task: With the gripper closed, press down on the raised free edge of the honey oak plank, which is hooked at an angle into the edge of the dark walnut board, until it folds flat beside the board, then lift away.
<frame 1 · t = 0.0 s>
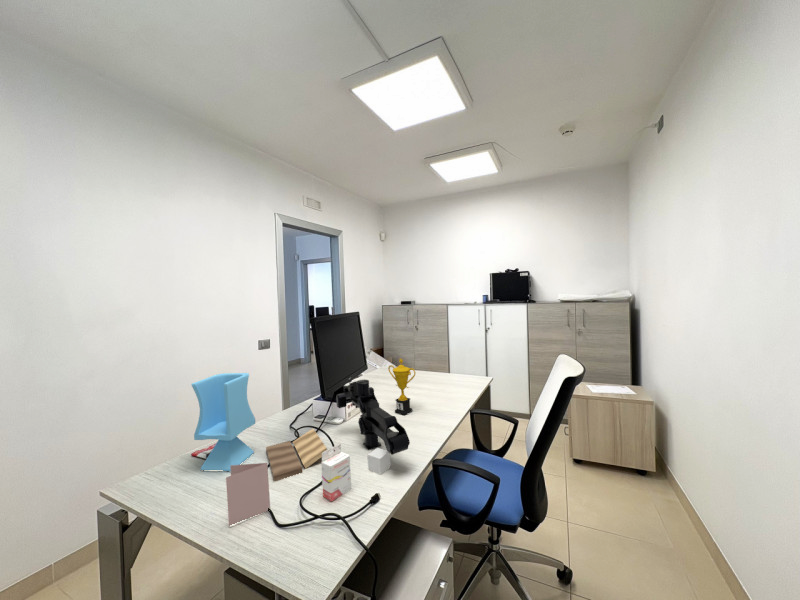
hand: (349, 393, 156), 17 cm above the table, tool horizontal, fingers open, 9 cm apart
greeting card: (247, 518, 93), on the table
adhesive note: (379, 469, 116), on the table
oak plank: (309, 446, 130), point 3 cm above the table, hinge at 22.0°
blue pedestal chair: (228, 462, 127), on the table
trophy: (403, 412, 170), on the table
ink cartridge box: (337, 493, 103), on the table
walnut board: (283, 461, 125), on the table
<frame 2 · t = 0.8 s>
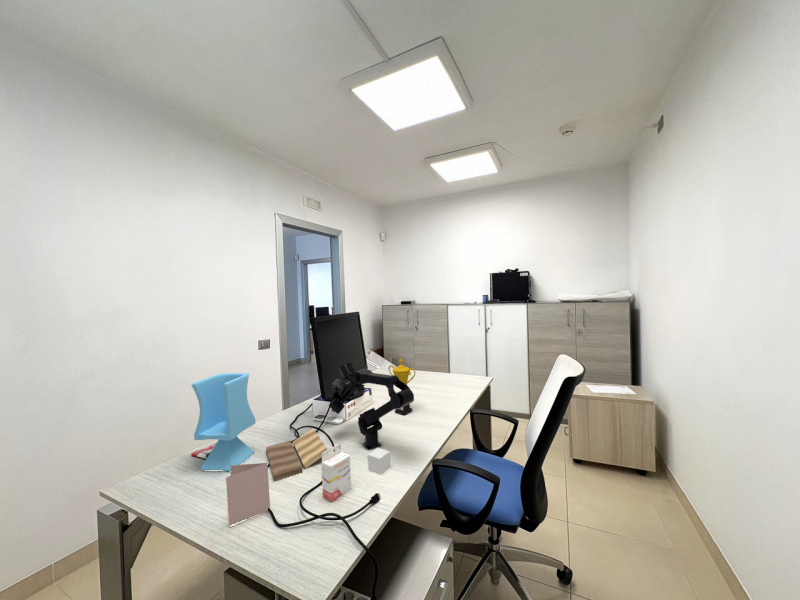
hand: (337, 404, 150), 13 cm above the table, tool tilted 50°, fingers open, 9 cm apart
nothing on the table moved.
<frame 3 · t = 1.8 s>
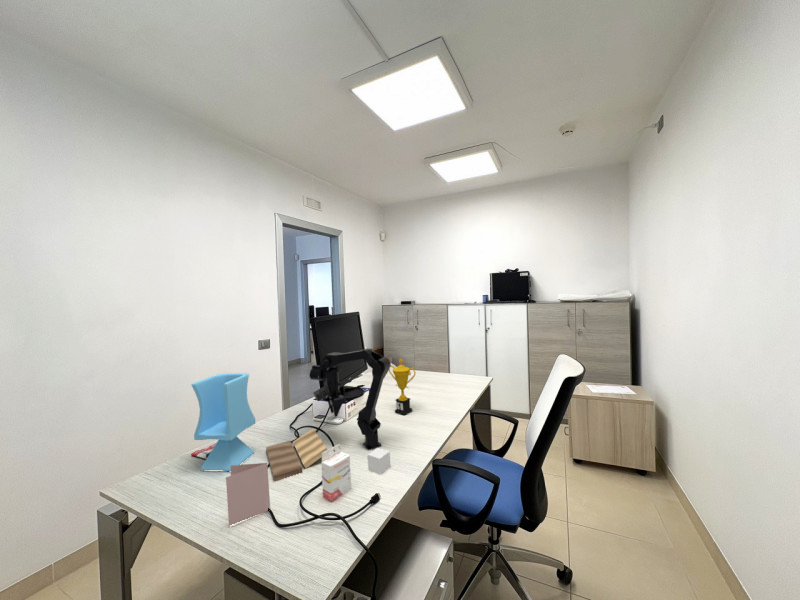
hand: (334, 414, 141), 12 cm above the table, tool pointing down, fingers open, 5 cm apart
nothing on the table moved.
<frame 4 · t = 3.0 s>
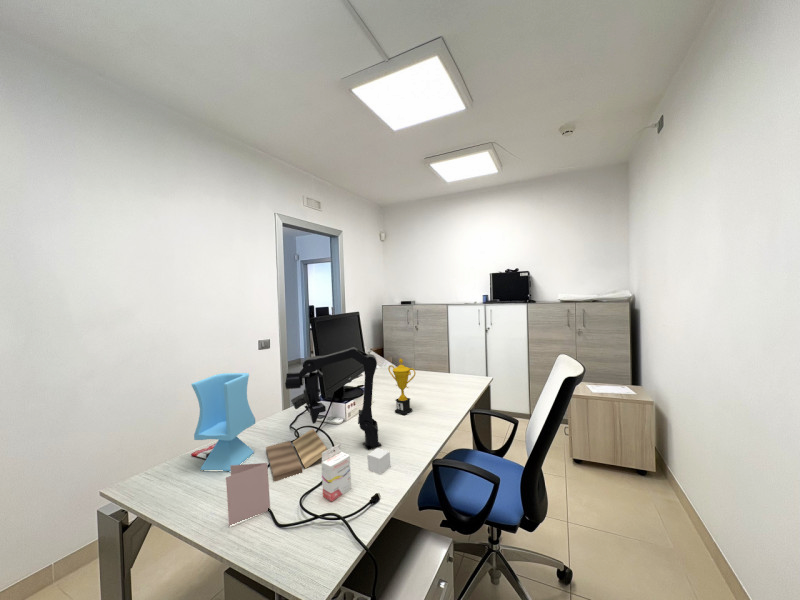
hand: (314, 423, 131), 12 cm above the table, tool pointing down, fingers closed
nothing on the table moved.
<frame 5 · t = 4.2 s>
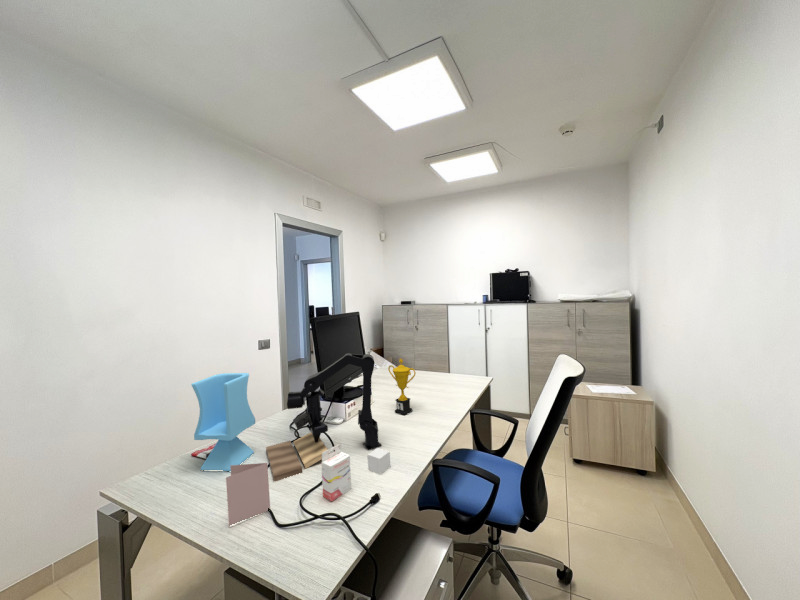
hand: (316, 441, 131), 4 cm above the table, tool pointing down, fingers closed, pressing on oak plank
oak plank: (310, 447, 130), point 2 cm above the table, hinge at 14.9°, touching gripper
everything else where it was.
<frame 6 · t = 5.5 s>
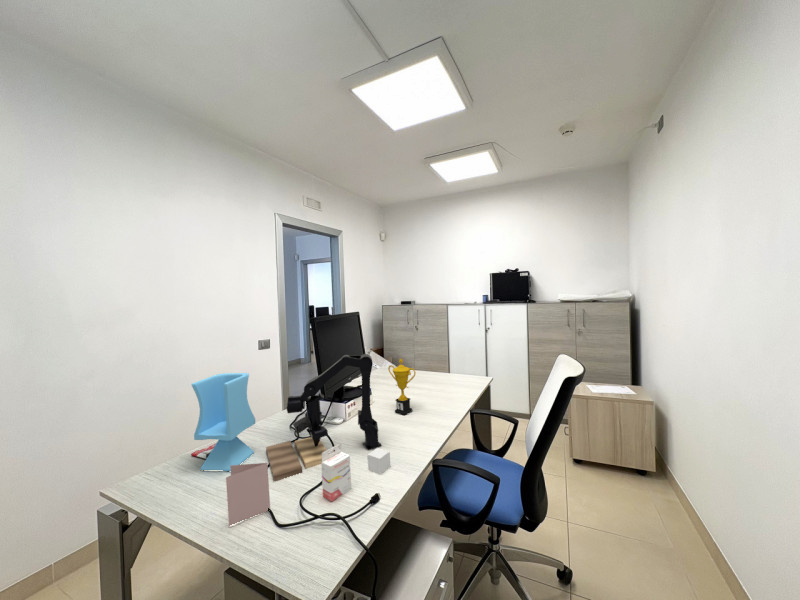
hand: (316, 446, 131), 2 cm above the table, tool pointing down, fingers closed
oak plank: (311, 450, 130), point 1 cm above the table, hinge at -0.8°
everything else where it was.
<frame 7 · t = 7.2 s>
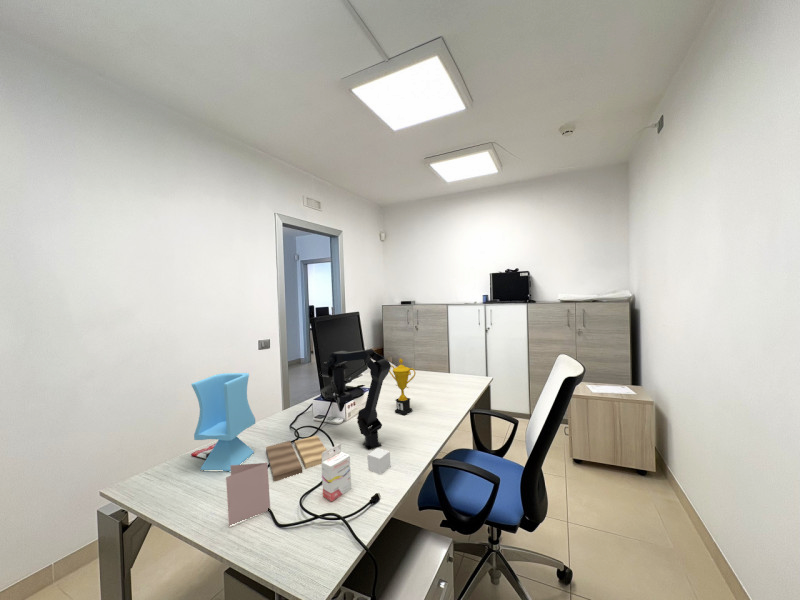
hand: (340, 411, 144), 12 cm above the table, tool pointing down, fingers closed
nothing on the table moved.
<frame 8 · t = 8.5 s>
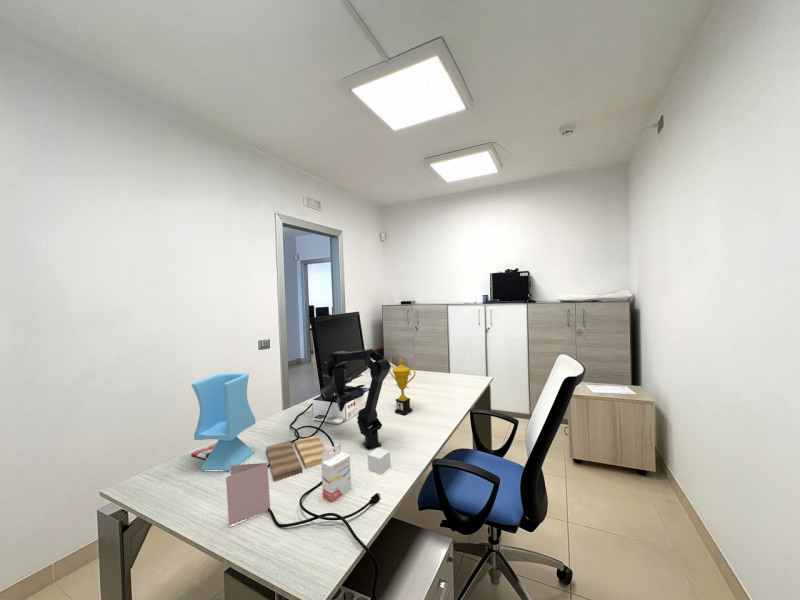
hand: (341, 411, 144), 12 cm above the table, tool pointing down, fingers closed
nothing on the table moved.
at the end: oak plank at -1° (first picture: +22°) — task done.
